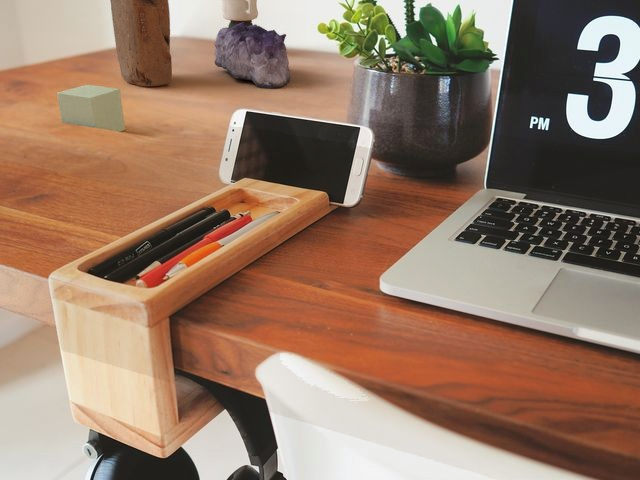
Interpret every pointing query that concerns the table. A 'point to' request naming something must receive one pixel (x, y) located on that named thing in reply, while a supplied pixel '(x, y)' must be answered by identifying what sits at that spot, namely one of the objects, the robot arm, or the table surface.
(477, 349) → the table surface
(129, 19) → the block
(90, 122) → the cube
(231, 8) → the character mug
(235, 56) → the geode
